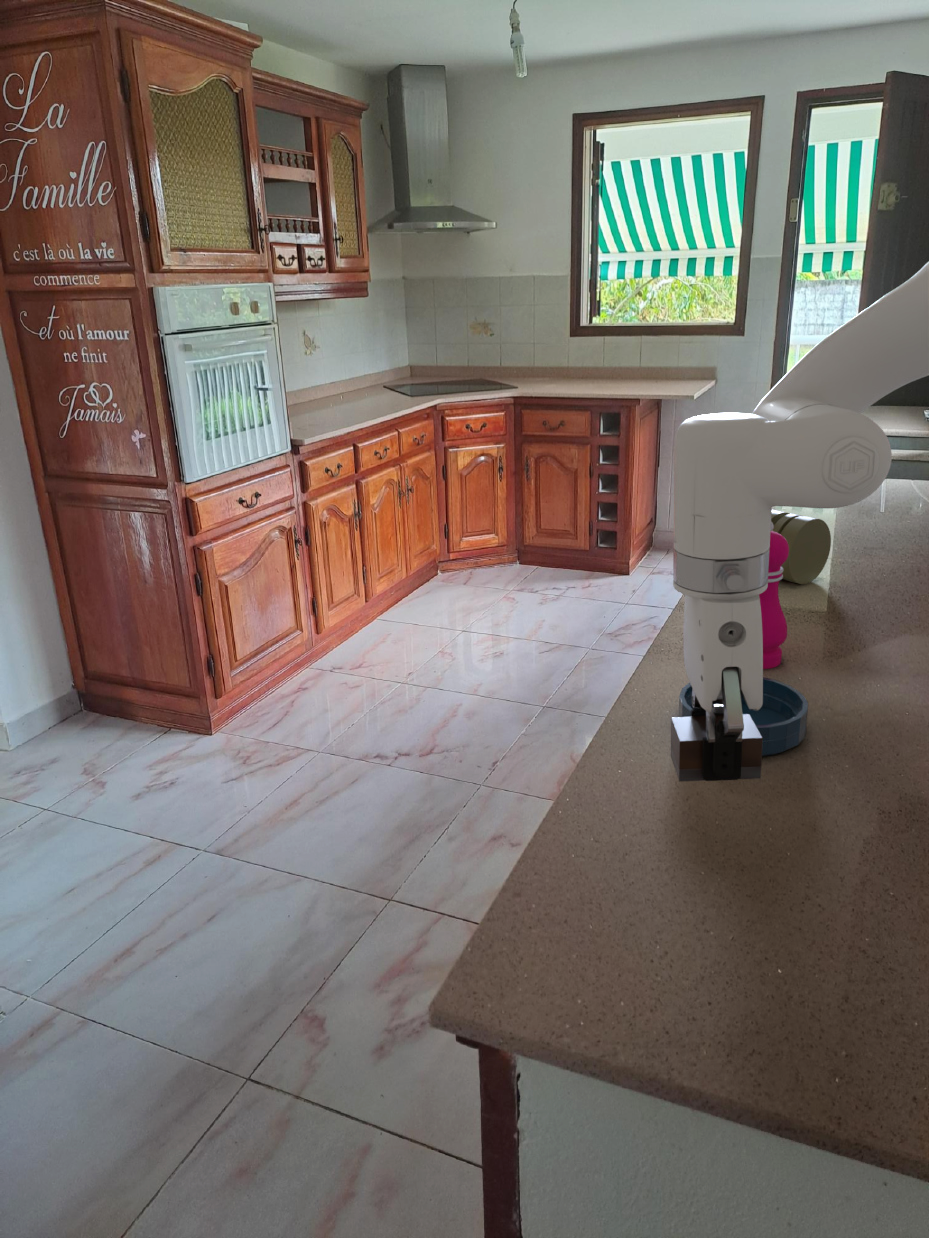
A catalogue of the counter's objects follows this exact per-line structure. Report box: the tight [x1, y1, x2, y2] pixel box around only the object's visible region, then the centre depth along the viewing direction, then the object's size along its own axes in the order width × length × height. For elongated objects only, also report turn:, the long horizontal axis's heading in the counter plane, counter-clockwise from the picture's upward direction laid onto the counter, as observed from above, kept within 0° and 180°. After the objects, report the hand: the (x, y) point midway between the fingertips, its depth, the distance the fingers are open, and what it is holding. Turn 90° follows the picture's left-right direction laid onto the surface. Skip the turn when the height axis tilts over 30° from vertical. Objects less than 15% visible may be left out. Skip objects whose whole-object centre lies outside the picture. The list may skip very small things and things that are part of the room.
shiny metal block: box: [670, 714, 763, 782], centre depth 78 cm, size 7×4×4 cm, turn 87°
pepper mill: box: [759, 522, 789, 670], centre depth 118 cm, size 7×7×20 cm
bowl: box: [677, 676, 809, 757], centre depth 103 cm, size 14×14×4 cm
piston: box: [771, 509, 832, 585], centre depth 154 cm, size 11×12×11 cm
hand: (714, 761), depth 78 cm, fingers closed on shiny metal block, 4 cm apart
